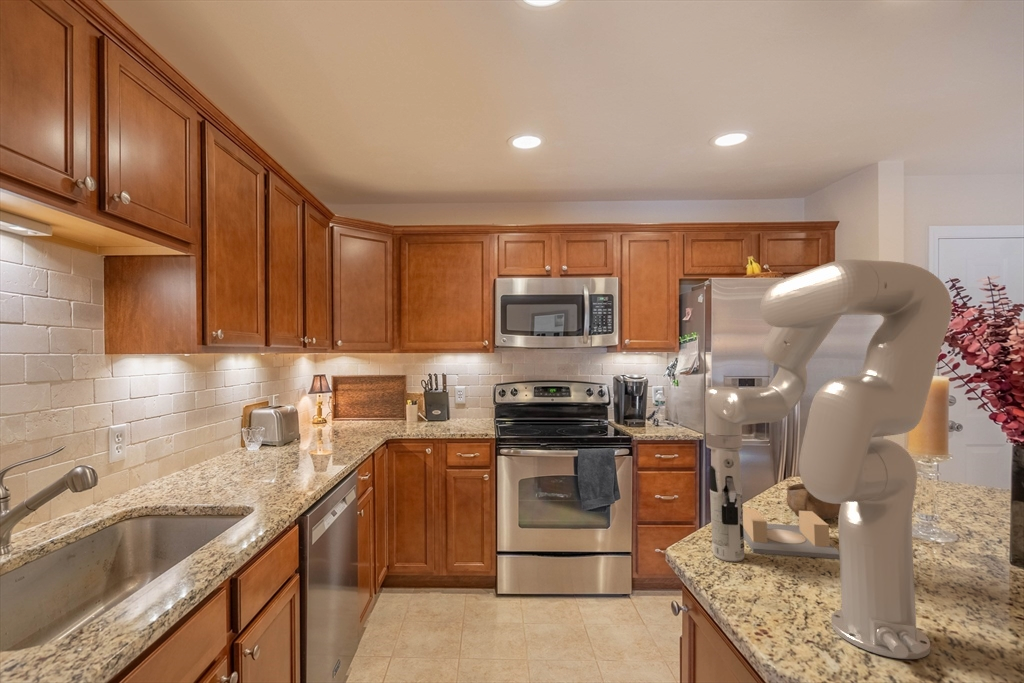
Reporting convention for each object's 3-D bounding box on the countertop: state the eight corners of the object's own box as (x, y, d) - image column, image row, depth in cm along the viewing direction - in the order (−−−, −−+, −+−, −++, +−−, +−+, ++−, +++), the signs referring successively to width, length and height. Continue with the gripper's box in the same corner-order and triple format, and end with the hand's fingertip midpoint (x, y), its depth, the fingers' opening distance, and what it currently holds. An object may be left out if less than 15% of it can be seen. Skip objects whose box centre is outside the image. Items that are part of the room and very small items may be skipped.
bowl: (850, 528, 119) (834, 488, 121) (788, 533, 127) (775, 495, 129) (852, 509, 133) (838, 473, 135) (797, 514, 141) (784, 480, 143)
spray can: (748, 563, 104) (745, 471, 104) (715, 561, 105) (712, 470, 106) (740, 551, 110) (737, 464, 111) (709, 549, 112) (706, 463, 112)
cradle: (842, 559, 105) (841, 531, 105) (753, 552, 109) (752, 526, 109) (811, 530, 122) (810, 506, 123) (735, 525, 127) (735, 502, 127)
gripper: (751, 449, 99) (753, 532, 99) (733, 434, 116) (734, 505, 116) (712, 448, 101) (714, 529, 101) (700, 434, 118) (701, 503, 118)
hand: (725, 516), depth 108 cm, fingers open, 9 cm apart
